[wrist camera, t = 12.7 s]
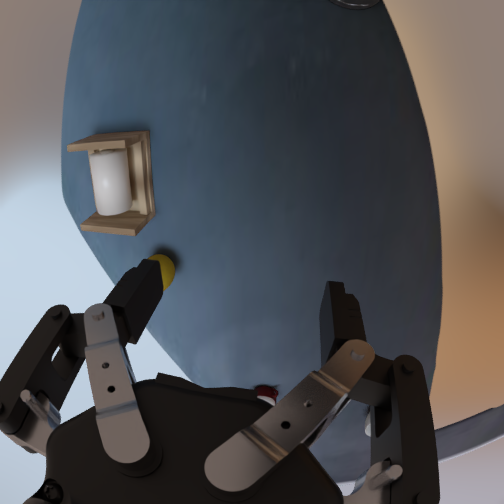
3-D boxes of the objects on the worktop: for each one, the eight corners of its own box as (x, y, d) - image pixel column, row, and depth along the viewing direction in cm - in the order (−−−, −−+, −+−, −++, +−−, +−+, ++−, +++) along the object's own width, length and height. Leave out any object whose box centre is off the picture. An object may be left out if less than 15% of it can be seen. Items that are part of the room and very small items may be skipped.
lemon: (147, 247, 48) (126, 274, 42) (175, 244, 47) (156, 272, 40) (157, 274, 51) (139, 302, 44) (185, 272, 50) (169, 302, 43)
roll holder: (94, 134, 39) (67, 145, 33) (149, 130, 38) (124, 140, 32) (104, 211, 46) (81, 230, 40) (155, 214, 45) (135, 236, 39)
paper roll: (120, 144, 39) (85, 152, 36) (132, 148, 36) (93, 157, 33) (125, 199, 44) (94, 208, 41) (138, 209, 41) (103, 220, 38)
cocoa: (276, 380, 64) (273, 423, 53) (284, 394, 66) (282, 435, 56) (239, 385, 66) (231, 427, 56) (249, 399, 69) (243, 439, 58)
